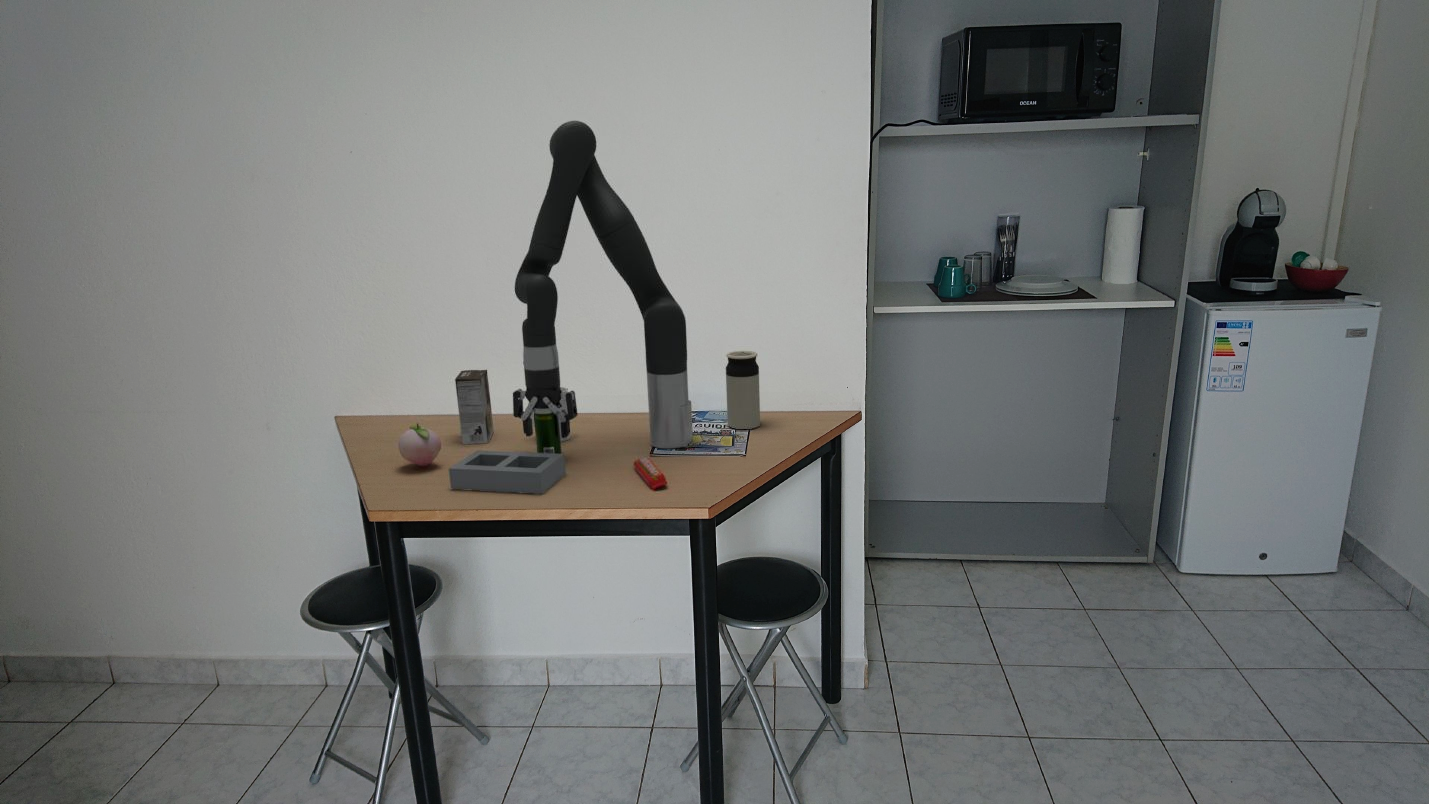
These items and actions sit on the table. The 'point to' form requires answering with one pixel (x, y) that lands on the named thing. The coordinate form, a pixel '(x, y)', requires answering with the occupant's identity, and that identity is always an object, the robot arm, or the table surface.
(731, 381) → the travel mug
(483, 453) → the drink caddy
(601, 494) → the table surface
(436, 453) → the decorative fruit
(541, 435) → the beer can
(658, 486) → the candy bar
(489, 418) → the coffee box
